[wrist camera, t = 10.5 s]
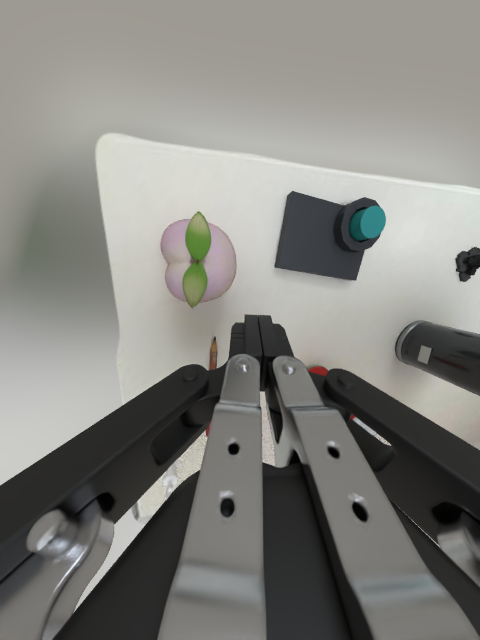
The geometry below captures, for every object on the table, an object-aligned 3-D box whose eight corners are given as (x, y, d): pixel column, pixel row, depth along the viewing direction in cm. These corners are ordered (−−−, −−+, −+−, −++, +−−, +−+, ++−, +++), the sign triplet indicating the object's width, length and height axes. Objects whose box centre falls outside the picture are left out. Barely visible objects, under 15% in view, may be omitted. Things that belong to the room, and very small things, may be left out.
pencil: (211, 433, 34) (212, 437, 33) (205, 433, 33) (206, 438, 32) (218, 334, 29) (218, 336, 28) (211, 334, 29) (211, 336, 28)
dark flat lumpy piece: (498, 267, 35) (475, 284, 35) (480, 267, 37) (459, 284, 37) (495, 238, 33) (470, 257, 33) (476, 240, 35) (453, 258, 35)
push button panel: (371, 210, 29) (389, 204, 26) (351, 280, 32) (366, 281, 29) (289, 187, 26) (300, 177, 23) (274, 267, 28) (282, 266, 25)
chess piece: (158, 440, 32) (140, 512, 22) (168, 417, 31) (154, 481, 22) (185, 445, 33) (179, 515, 24) (196, 423, 33) (194, 486, 23)
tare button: (376, 213, 27) (389, 209, 25) (367, 242, 28) (380, 240, 26) (353, 207, 26) (365, 202, 24) (345, 237, 27) (357, 235, 25)
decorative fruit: (230, 295, 28) (246, 308, 19) (175, 299, 26) (160, 314, 17) (227, 228, 26) (243, 203, 16) (165, 228, 24) (143, 199, 15)
